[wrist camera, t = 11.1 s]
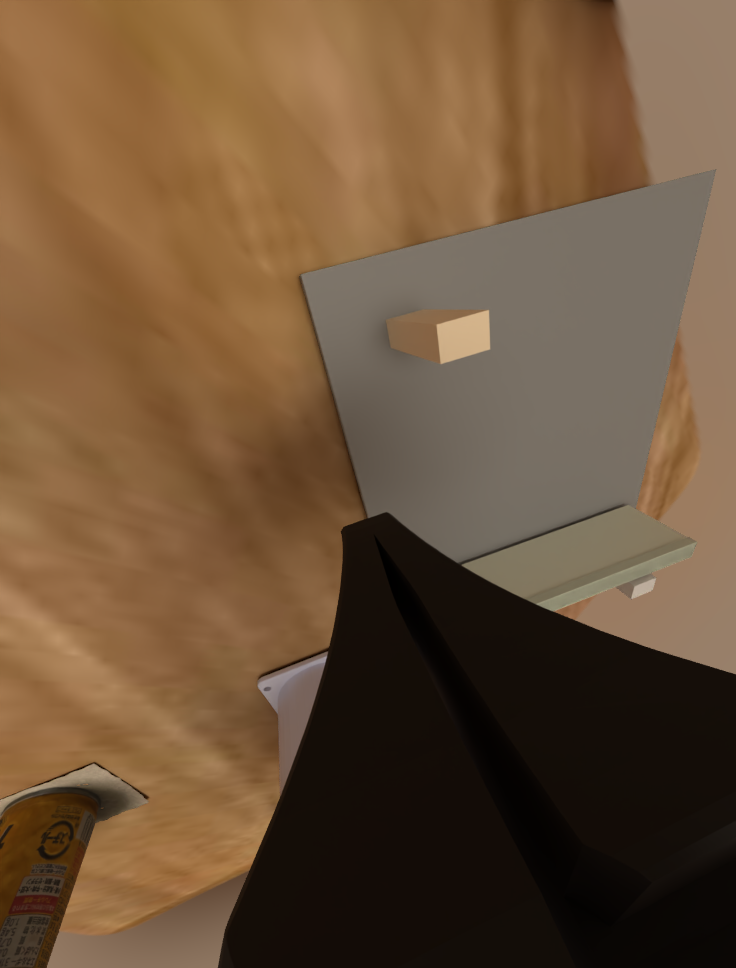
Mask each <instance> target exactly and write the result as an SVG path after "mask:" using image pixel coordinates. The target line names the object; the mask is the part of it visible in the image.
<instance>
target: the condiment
mask: <svg viewBox="0 0 736 968" xmlns="http://www.w3.org/2000/svg"><path fill="white" fill-rule="evenodd" d="M83 784H88V785H83ZM77 785H80V786H77ZM148 802H149V801H148V800H146V799H145V798H144V797H143V795H141V794H140V793H139V792H137V791H136V790H134V789H133V788H132V787H131V786H129V785H128V784H126V783H124V782H123V781H121V778H117V777H115V776H113V775H111V774H110V773H109V772H108V771H106V770H103V769H101V768H100V767H98V766H97V765H95V764H92V765H90V766H87V767H85V768H83V769H81V770H78V771H74V772H72V773H70V774H68V775H66V776H64V777H60V778H57V779H54V780H52V781H51V782H48V783H44V784H42V785H39V786H36V787H32V788H30V789H26V790H24V791H21V792H19V793H17V794H15V795H12V796H9V797H6V798H4V799H1V800H0V968H47V964H48V962H49V958H50V956H51V953H52V949H53V947H54V943H55V941H56V938H57V935H58V933H59V929H60V926H61V923H62V920H63V917H64V914H65V911H66V908H67V905H68V902H69V900H70V897H71V894H72V891H73V888H74V885H75V882H76V879H77V876H78V873H79V870H80V867H81V864H82V861H83V858H84V855H85V852H86V849H87V846H88V843H89V840H90V837H91V834H92V831H93V828H94V825H95V823H97V822H99V821H104V820H107V819H109V818H110V817H112V816H115V815H118V814H120V813H121V812H124V811H127V810H129V809H134V808H137V807H139V806H141V805H143V804H146V803H148ZM101 808H103V809H101Z"/></svg>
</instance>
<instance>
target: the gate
mask: <svg viewBox="0 0 736 968" xmlns="http://www.w3.org/2000/svg"><path fill="white" fill-rule="evenodd" d="M696 544H697V541H695V540H693V539H692V538H690V537H686V536H684V535H683V534H681V533H679V532H677V531H676V530H674V529H672V528H670V527H668V526H666V525H665V524H663V523H661V522H659V521H657V520H655V519H654V518H652V517H650V516H648V515H646V514H644V513H642V512H641V511H639V510H637V509H635V508H633V507H631V506H630V505H627V506H624V507H621V508H618V509H615V510H613V511H610V512H607V513H604V514H602V515H599V516H596V517H593V518H590V519H588V520H585V521H582V522H579V523H576V524H574V525H571V526H568V527H565V528H563V529H560V530H557V531H554V532H551V533H549V534H546V535H543V536H540V537H538V538H535V539H532V540H529V541H526V542H524V543H521V544H518V545H515V546H512V547H510V548H507V549H504V550H501V551H499V552H496V553H493V554H490V555H487V556H485V557H482V558H479V559H476V560H474V561H471V562H468V563H465V564H462V566H464V567H465V568H467V569H469V570H470V571H472V572H474V573H475V574H477V575H479V576H481V577H483V578H484V579H486V580H488V581H490V582H492V583H494V584H496V585H497V586H499V587H501V588H503V589H505V590H507V591H509V592H511V593H513V594H515V595H518V596H520V597H522V598H524V599H526V600H528V601H530V602H533V603H535V604H537V605H539V606H541V607H543V608H546V609H548V610H551V611H555V610H558V609H561V608H563V607H566V606H568V605H571V604H573V603H576V602H578V601H581V600H583V599H586V598H588V597H591V596H594V595H596V594H599V593H601V592H604V591H606V590H609V589H611V588H614V587H616V586H619V585H621V584H624V583H627V582H629V581H632V580H634V579H637V578H639V577H642V576H644V575H647V574H649V573H652V572H654V571H657V570H660V569H662V568H665V567H667V566H670V565H672V564H675V563H677V562H680V561H682V560H685V559H687V558H690V557H691V556H692V554H693V551H694V549H695V546H696Z"/></svg>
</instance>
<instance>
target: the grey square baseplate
mask: <svg viewBox="0 0 736 968" xmlns="http://www.w3.org/2000/svg"><path fill="white" fill-rule="evenodd" d="M715 171H716V170H711V171H707V172H703V173H699V174H695V175H691V176H687V177H683V178H679V179H676V180H672V181H668V182H664V183H660V184H656V185H652V186H648V187H644V188H640V189H636V190H632V191H628V192H624V193H620V194H616V195H612V196H608V197H604V198H600V199H596V200H593V201H589V202H585V203H581V204H577V205H573V206H569V207H565V208H561V209H557V210H553V211H549V212H545V213H541V214H537V215H533V216H529V217H525V218H521V219H517V220H514V221H510V222H506V223H502V224H498V225H494V226H490V227H486V228H482V229H478V230H474V231H470V232H466V233H462V234H458V235H454V236H450V237H446V238H442V239H438V240H435V241H431V242H427V243H423V244H419V245H415V246H411V247H407V248H403V249H399V250H395V251H391V252H387V253H383V254H379V255H375V256H371V257H367V258H363V259H359V260H356V261H352V262H348V263H344V264H340V265H336V266H332V267H328V268H324V269H320V270H316V271H312V272H308V273H304V274H301V275H300V276H299V277H300V281H301V284H302V288H303V291H304V295H305V299H306V302H307V306H308V309H309V313H310V316H311V320H312V323H313V327H314V331H315V334H316V338H317V341H318V345H319V348H320V352H321V355H322V359H323V363H324V366H325V370H326V373H327V377H328V380H329V384H330V387H331V391H332V395H333V398H334V402H335V405H336V409H337V412H338V416H339V419H340V423H341V427H342V430H343V434H344V437H345V441H346V444H347V448H348V451H349V455H350V459H351V462H352V466H353V469H354V473H355V476H356V480H357V483H358V487H359V491H360V494H361V498H362V501H363V505H364V508H365V512H366V515H367V518H370V517H373V516H376V515H379V514H382V513H385V512H388V513H390V514H391V515H393V516H394V517H395V518H396V519H397V520H398V521H399V522H401V523H402V524H403V525H404V526H406V527H407V528H408V529H409V530H411V531H412V532H413V533H415V534H416V535H417V536H418V537H420V538H421V539H423V540H424V541H425V542H427V543H428V544H430V545H431V546H433V547H434V548H436V549H437V550H438V551H440V552H441V553H443V554H444V555H446V556H447V557H449V558H451V559H452V560H454V561H455V562H457V563H459V564H460V565H462V564H465V563H468V562H471V561H474V560H476V559H479V558H482V557H485V556H487V555H490V554H493V553H496V552H499V551H501V550H504V549H507V548H510V547H512V546H515V545H518V544H521V543H524V542H526V541H529V540H532V539H535V538H538V537H540V536H543V535H546V534H549V533H551V532H554V531H557V530H560V529H563V528H565V527H568V526H571V525H574V524H576V523H579V522H582V521H585V520H588V519H590V518H593V517H596V516H599V515H602V514H604V513H607V512H610V511H613V510H615V509H618V508H621V507H624V506H627V505H630V506H631V507H633V508H635V509H636V505H637V501H638V497H639V492H640V488H641V484H642V480H643V475H644V471H645V467H646V463H647V459H648V454H649V450H650V446H651V442H652V438H653V433H654V429H655V425H656V421H657V416H658V412H659V408H660V404H661V400H662V395H663V391H664V387H665V383H666V378H667V374H668V370H669V366H670V362H671V357H672V353H673V349H674V345H675V340H676V336H677V332H678V328H679V324H680V319H681V315H682V311H683V306H684V302H685V298H686V294H687V289H688V286H689V281H690V277H691V272H692V269H693V264H694V260H695V256H696V252H697V247H698V243H699V239H700V235H701V230H702V226H703V222H704V218H705V214H706V209H707V205H708V201H709V197H710V193H711V188H712V184H713V180H714V176H715ZM655 580H656V577H655V576H653V575H652V574H651V573H649V574H647V575H644V576H642V577H639V578H637V579H634V580H632V581H629V582H627V583H624V584H621V585H619V586H616V588H617V589H619V590H620V591H621V592H622V593H624V594H625V595H626V596H628V597H629V598H630V599H633V598H635V597H638V596H640V595H642V594H645V593H647V592H649V591H652V589H653V586H654V583H655Z"/></svg>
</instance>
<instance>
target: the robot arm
mask: <svg viewBox="0 0 736 968" xmlns="http://www.w3.org/2000/svg"><path fill="white" fill-rule="evenodd" d="M341 534H342V542H343V564H342V575H341V586H340V594H339V600H338V606H337V612H336V618H335V623H334V628H333V633H332V638H331V642H330V646H329V650H328V651H327V652H325V653H322V654H320V655H317V656H314V657H312V658H309V659H307V660H304V661H302V662H299V663H297V664H294V665H292V666H289V667H286V668H284V669H281V670H279V671H276V672H274V673H271V674H269V675H266V676H263V677H261V678H260V679H259V680H258V688H259V689H260V691H261V692H262V694H263V695H264V696H265V698H266V699H267V700H268V702H269V703H270V704H271V706H272V707H273V709H274V710H275V711H276V713H277V714H278V734H279V776H280V799H279V801H278V804H277V806H276V809H275V811H274V814H273V816H272V819H271V821H270V824H269V826H268V828H267V831H266V833H265V835H264V838H263V840H262V842H261V845H260V847H259V850H258V852H257V854H256V857H255V859H254V861H253V864H252V866H251V868H250V871H249V874H248V876H247V878H246V880H245V883H244V885H243V887H242V890H241V892H240V895H239V897H238V899H237V902H236V904H235V906H234V909H233V911H232V913H231V916H230V918H229V921H228V923H227V926H226V929H225V933H224V938H223V943H222V948H221V954H220V959H219V965H218V968H736V674H733V673H729V672H726V671H723V670H719V669H716V668H713V667H710V666H706V665H703V664H700V663H696V662H693V661H690V660H687V659H683V658H680V657H677V656H673V655H669V654H667V653H664V652H660V651H657V650H654V649H651V648H648V647H645V646H642V645H639V644H637V643H634V642H630V641H628V640H625V639H622V638H620V637H617V636H614V635H611V634H608V633H605V632H603V631H600V630H597V629H595V628H592V627H590V626H587V625H585V624H582V623H580V622H578V621H575V620H573V619H570V618H568V617H565V616H563V615H561V614H558V613H556V612H553V611H551V610H548V609H546V608H543V607H541V606H539V605H537V604H535V603H533V602H530V601H528V600H526V599H524V598H522V597H520V596H518V595H515V594H513V593H511V592H509V591H507V590H505V589H503V588H501V587H499V586H497V585H496V584H494V583H492V582H490V581H488V580H486V579H484V578H483V577H481V576H479V575H477V574H475V573H474V572H472V571H470V570H469V569H467V568H465V567H464V566H462V565H460V564H459V563H457V562H455V561H454V560H452V559H451V558H449V557H447V556H446V555H444V554H443V553H441V552H440V551H438V550H437V549H436V548H434V547H433V546H431V545H430V544H428V543H427V542H425V541H424V540H423V539H421V538H420V537H418V536H417V535H416V534H415V533H413V532H412V531H411V530H409V529H408V528H407V527H406V526H404V525H403V524H402V523H401V522H399V521H398V520H397V519H396V518H395V517H394V516H393V515H391V514H390V513H388V512H385V513H382V514H379V515H376V516H373V517H370V518H367V519H365V520H362V521H359V522H356V523H353V524H350V525H347V526H345V527H343V529H342V531H341Z"/></svg>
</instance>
